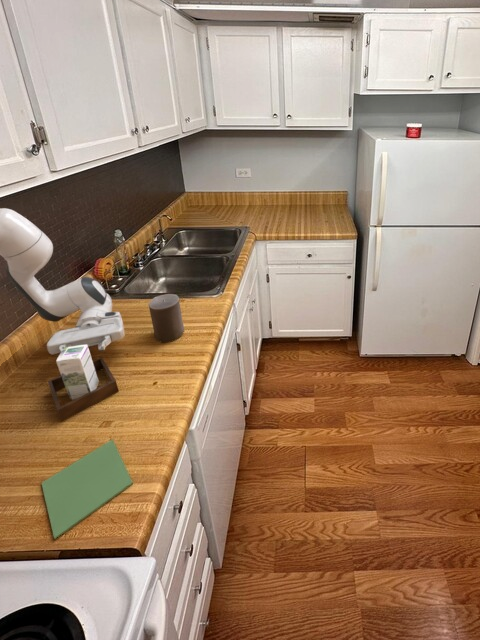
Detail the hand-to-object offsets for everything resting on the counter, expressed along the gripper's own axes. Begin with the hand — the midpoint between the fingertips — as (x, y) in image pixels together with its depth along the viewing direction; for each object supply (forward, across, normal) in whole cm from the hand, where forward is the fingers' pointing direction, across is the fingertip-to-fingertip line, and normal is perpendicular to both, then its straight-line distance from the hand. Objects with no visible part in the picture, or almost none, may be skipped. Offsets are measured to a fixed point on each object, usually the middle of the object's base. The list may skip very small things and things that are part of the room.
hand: (82, 352), depth 98 cm
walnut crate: (+7, 0, +8) cm, 11 cm away
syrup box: (+7, 0, +9) cm, 11 cm away
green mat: (+36, +6, +8) cm, 37 cm away
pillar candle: (-12, +23, +8) cm, 27 cm away
